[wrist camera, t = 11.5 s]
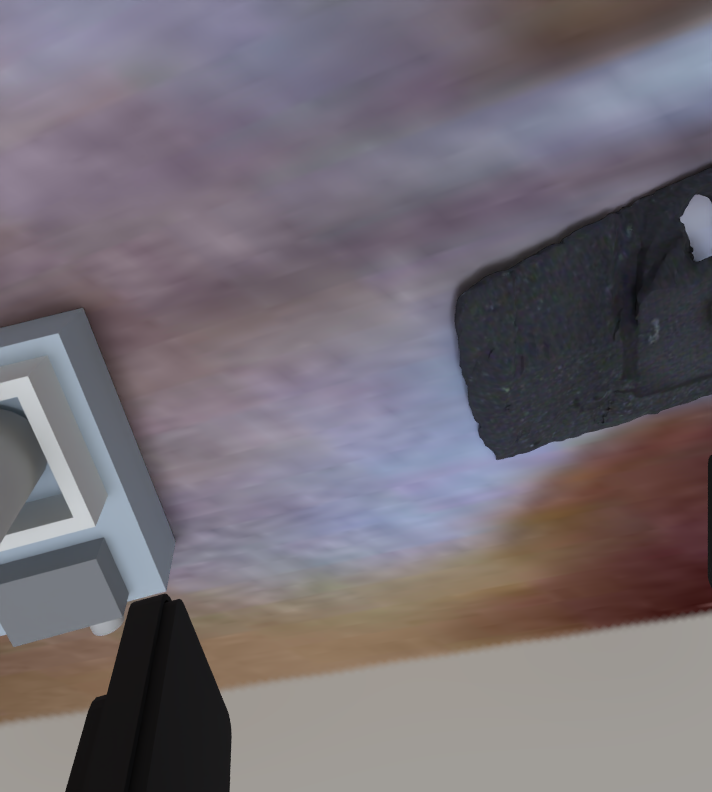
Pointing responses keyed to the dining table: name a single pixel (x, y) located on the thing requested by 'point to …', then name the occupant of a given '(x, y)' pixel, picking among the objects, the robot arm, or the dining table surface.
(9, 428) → the beverage can
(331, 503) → the dining table surface
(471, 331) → the dark slate chunk
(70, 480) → the recessed tray block
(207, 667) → the robot arm
